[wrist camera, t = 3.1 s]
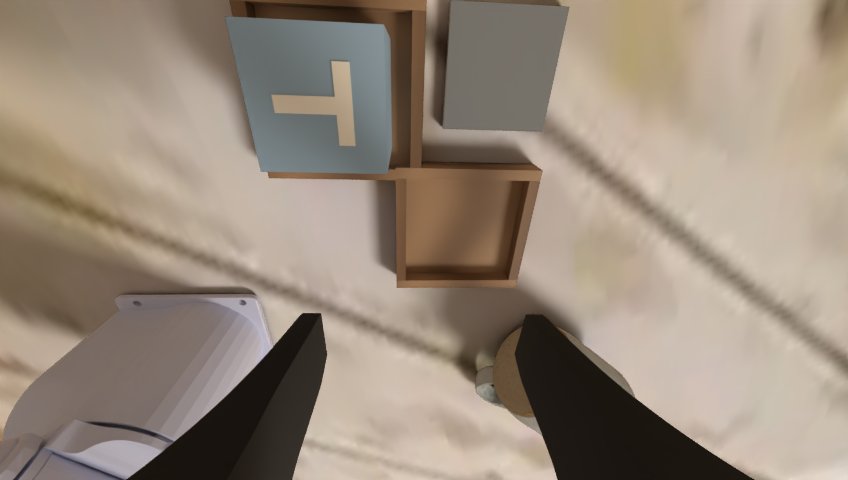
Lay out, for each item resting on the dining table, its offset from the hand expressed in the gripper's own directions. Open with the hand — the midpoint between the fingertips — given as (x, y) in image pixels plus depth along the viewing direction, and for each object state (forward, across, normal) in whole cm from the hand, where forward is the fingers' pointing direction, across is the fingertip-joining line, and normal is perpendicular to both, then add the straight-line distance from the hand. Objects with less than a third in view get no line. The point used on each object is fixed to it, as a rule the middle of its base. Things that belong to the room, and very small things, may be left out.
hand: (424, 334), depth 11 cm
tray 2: (+10, -3, 0) cm, 10 cm away
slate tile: (+10, -4, -8) cm, 14 cm away
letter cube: (+9, +4, -7) cm, 12 cm away
